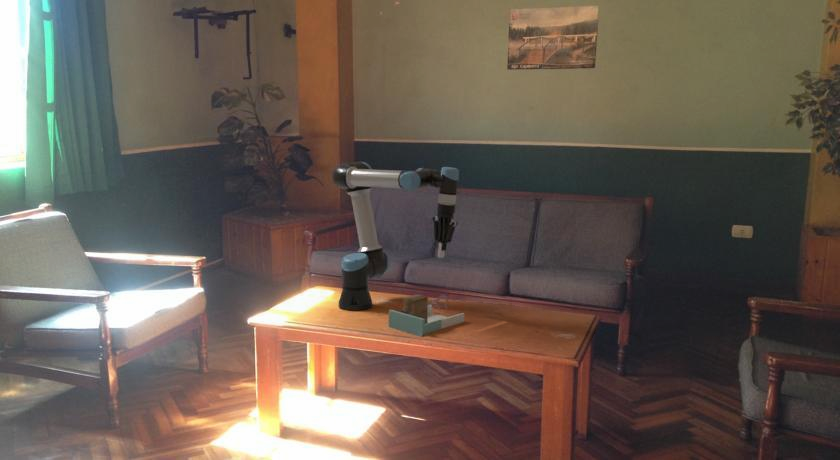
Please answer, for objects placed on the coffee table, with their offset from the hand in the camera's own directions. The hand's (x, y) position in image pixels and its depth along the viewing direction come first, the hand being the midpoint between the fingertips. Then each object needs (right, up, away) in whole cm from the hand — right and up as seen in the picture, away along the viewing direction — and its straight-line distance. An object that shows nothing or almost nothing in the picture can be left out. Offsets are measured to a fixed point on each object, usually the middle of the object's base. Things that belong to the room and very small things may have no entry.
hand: (440, 257), depth 310 cm
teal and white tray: (-6, -27, -15) cm, 32 cm away
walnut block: (-11, -27, -20) cm, 35 cm away
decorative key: (-6, -24, +10) cm, 26 cm away
